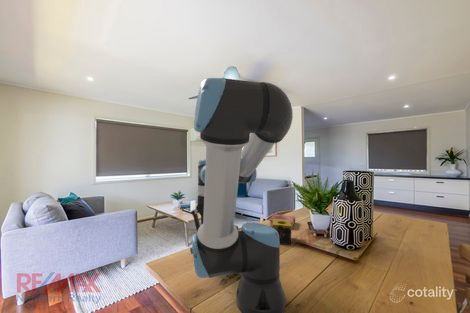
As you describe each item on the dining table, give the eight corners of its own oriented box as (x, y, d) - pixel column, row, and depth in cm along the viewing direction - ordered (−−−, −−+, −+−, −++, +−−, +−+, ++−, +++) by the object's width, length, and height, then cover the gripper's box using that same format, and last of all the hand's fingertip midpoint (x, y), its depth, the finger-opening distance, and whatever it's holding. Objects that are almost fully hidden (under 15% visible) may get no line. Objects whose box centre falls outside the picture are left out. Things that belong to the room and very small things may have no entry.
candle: (272, 236, 117) (272, 218, 117) (290, 237, 115) (290, 219, 115) (271, 243, 107) (271, 224, 107) (291, 245, 105) (291, 225, 105)
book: (295, 223, 140) (295, 216, 140) (292, 230, 126) (291, 222, 126) (274, 220, 146) (274, 213, 146) (269, 227, 132) (269, 219, 132)
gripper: (222, 193, 93) (221, 245, 93) (194, 192, 94) (193, 244, 93) (220, 196, 85) (218, 253, 85) (189, 195, 86) (188, 252, 86)
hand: (205, 248), depth 89 cm, fingers closed
